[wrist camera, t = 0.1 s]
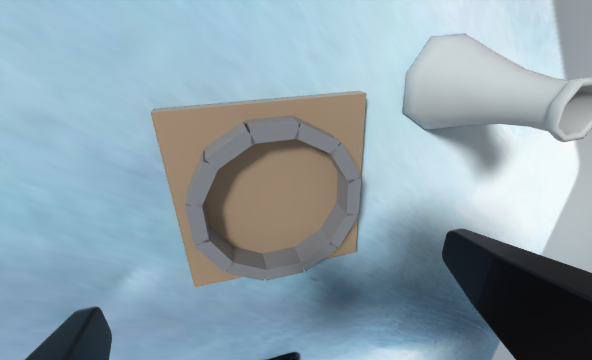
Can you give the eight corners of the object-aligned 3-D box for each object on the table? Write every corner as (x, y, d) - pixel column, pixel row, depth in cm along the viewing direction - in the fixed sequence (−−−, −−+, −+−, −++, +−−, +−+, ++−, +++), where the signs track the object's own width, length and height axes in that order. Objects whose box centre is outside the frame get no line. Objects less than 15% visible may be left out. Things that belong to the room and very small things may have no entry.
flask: (496, 46, 23) (672, 52, 14) (456, 135, 26) (584, 185, 17) (423, 18, 21) (582, 5, 12) (386, 120, 23) (495, 169, 14)
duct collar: (350, 245, 28) (366, 267, 25) (195, 278, 25) (193, 307, 22) (359, 90, 22) (381, 98, 19) (153, 109, 18) (144, 121, 16)
